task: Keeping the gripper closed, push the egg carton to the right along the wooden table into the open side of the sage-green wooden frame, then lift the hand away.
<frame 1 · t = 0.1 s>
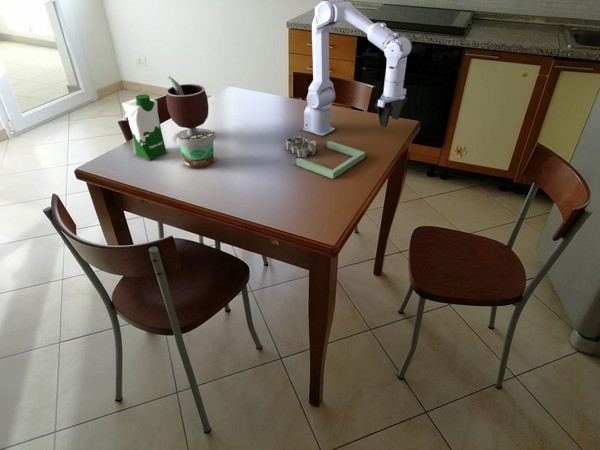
hand: (389, 122, 137), 10 cm above the table, tool pointing down, fingers open, 7 cm apart
frame: (329, 160, 138), on the table
food container: (202, 166, 136), on the table
mate gourd: (192, 136, 155), on the table
milk carton: (151, 154, 143), on the table
egg carton: (300, 151, 144), on the table
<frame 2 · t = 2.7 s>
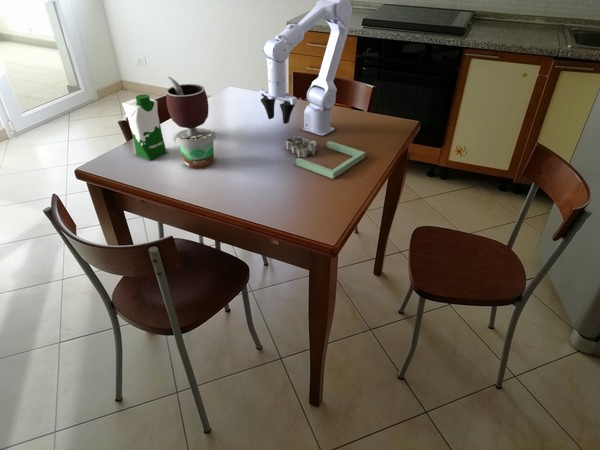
hand: (278, 120, 144), 8 cm above the table, tool pointing down, fingers open, 6 cm apart
nothing on the table moved.
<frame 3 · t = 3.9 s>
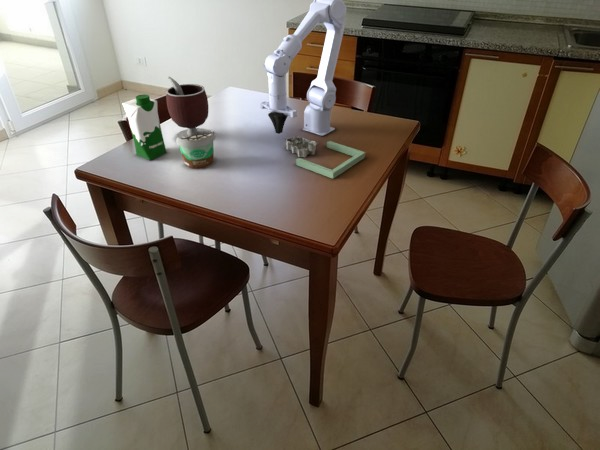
hand: (279, 132, 146), 4 cm above the table, tool pointing down, fingers closed
nothing on the table moved.
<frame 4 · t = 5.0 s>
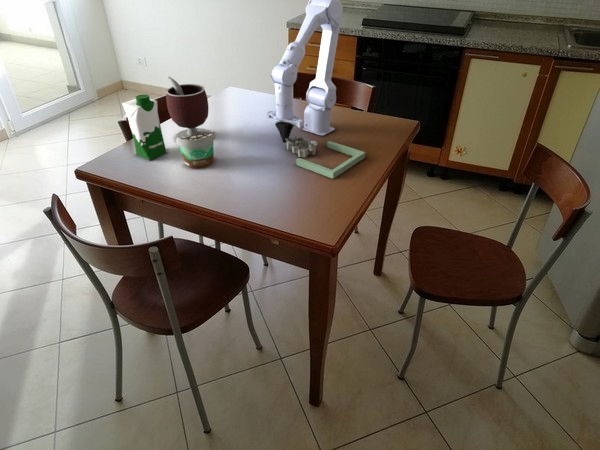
hand: (285, 141, 146), 1 cm above the table, tool pointing down, fingers closed
egg carton: (301, 151, 144), on the table, touching gripper
everything else where it was.
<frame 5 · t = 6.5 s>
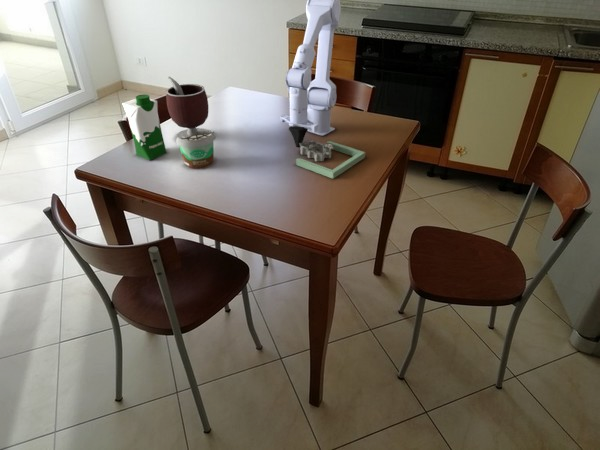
hand: (299, 146, 143), 1 cm above the table, tool pointing down, fingers closed
egg carton: (315, 155, 141), on the table, touching gripper
everything else where it was.
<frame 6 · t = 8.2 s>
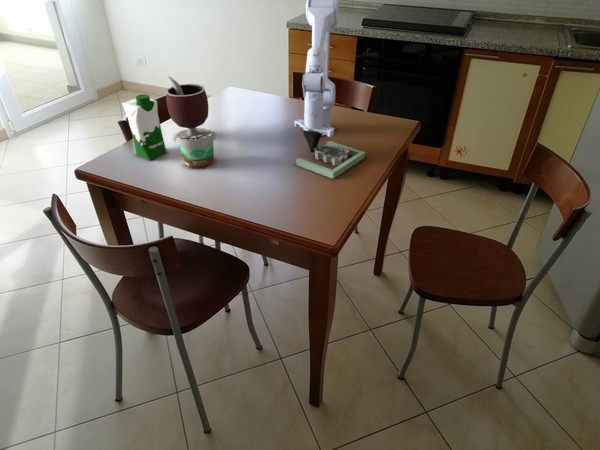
hand: (313, 151, 140), 1 cm above the table, tool pointing down, fingers closed
egg carton: (330, 159, 139), on the table, touching gripper
everything else where it was.
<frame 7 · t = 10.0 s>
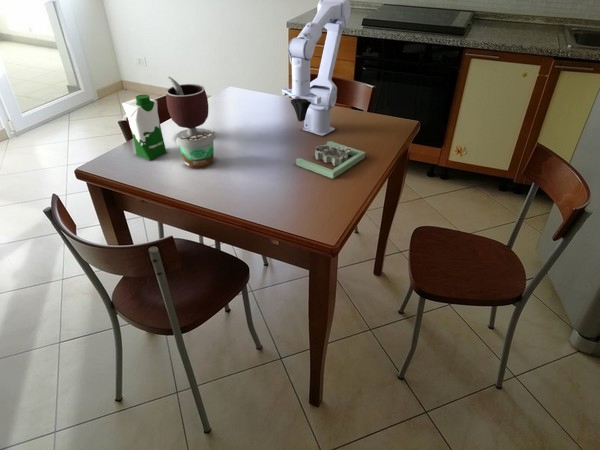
hand: (301, 120, 141), 9 cm above the table, tool pointing down, fingers closed
egg carton: (330, 159, 139), on the table
everything else where it was.
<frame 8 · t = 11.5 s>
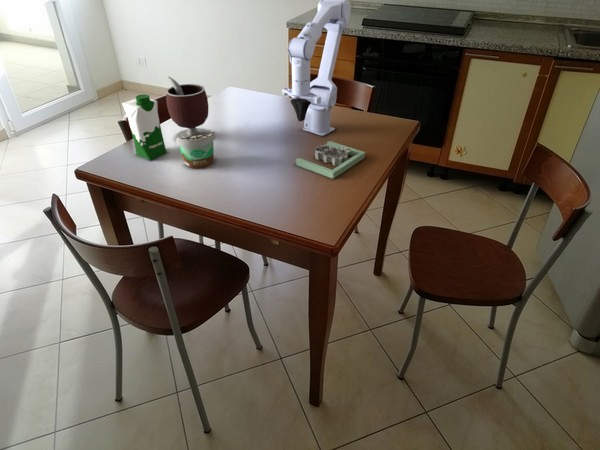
hand: (301, 120, 141), 9 cm above the table, tool pointing down, fingers closed
nothing on the table moved.
at the end: egg carton 1.3 cm off-centre on the frame, point 0.0 cm above the frame's base; egg carton moved 11.9 cm from its start; egg carton tilted 0° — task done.
